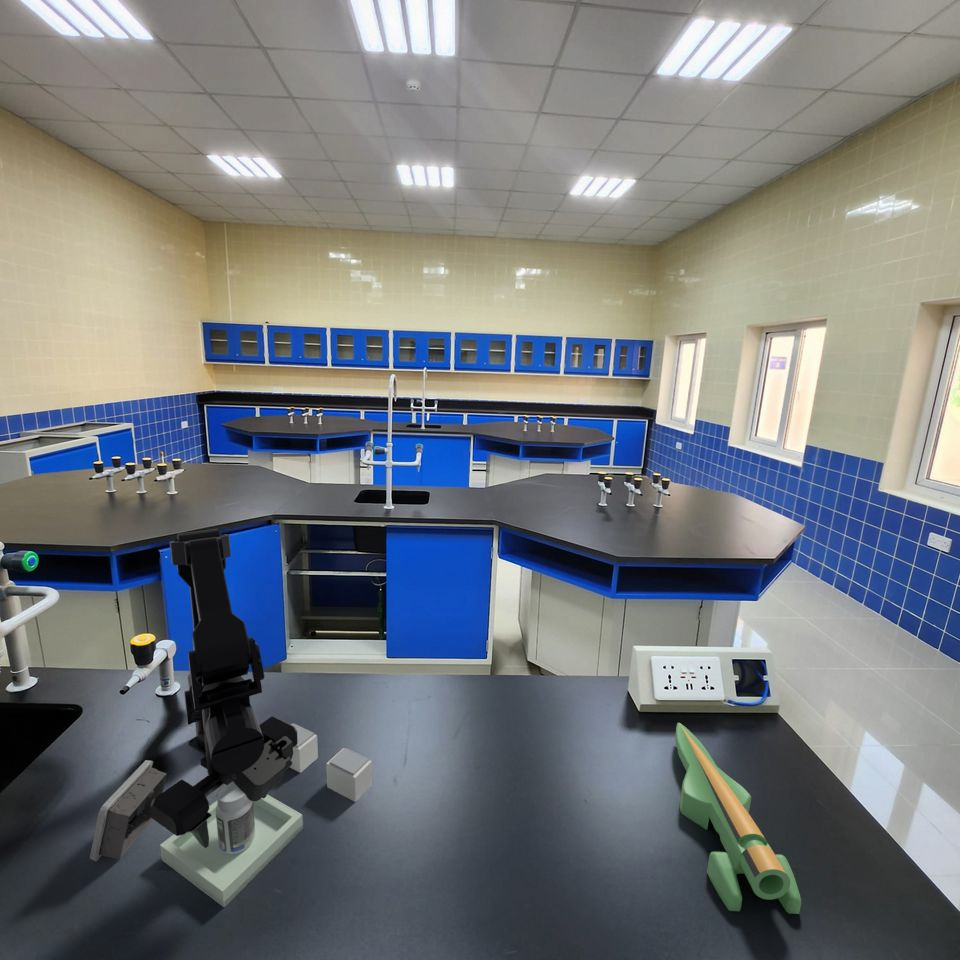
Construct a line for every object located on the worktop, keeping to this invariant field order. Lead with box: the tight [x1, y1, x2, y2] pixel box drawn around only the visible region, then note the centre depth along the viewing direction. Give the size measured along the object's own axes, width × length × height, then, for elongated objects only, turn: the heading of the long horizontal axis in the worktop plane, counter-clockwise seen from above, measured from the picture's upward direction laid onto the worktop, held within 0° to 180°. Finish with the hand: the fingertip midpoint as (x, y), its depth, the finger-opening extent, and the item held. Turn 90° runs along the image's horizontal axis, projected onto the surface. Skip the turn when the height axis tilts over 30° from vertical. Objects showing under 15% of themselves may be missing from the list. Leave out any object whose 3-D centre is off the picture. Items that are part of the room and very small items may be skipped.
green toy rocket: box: [674, 722, 802, 915], centre depth 81 cm, size 32×10×7 cm, turn 179°
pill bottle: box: [215, 781, 255, 854], centre depth 72 cm, size 5×5×8 cm
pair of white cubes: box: [289, 723, 373, 803], centre depth 86 cm, size 18×4×5 cm, turn 62°
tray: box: [159, 794, 304, 908], centre depth 73 cm, size 13×13×2 cm
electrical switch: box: [89, 759, 168, 862], centre depth 73 cm, size 9×5×9 cm, turn 176°
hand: (235, 820), depth 72 cm, fingers open, 9 cm apart
